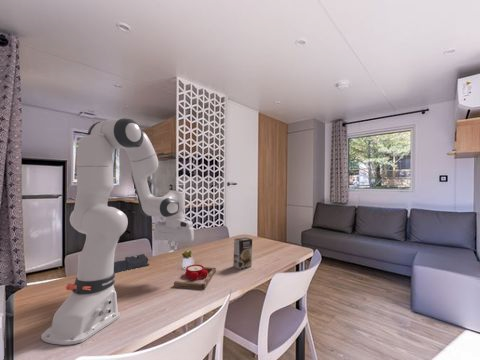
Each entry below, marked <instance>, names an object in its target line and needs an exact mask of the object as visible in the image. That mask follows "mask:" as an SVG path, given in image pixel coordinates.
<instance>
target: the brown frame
mask: <svg viewBox="0 0 480 360" xmlns="http://www.w3.org/2000/svg"><path fill="white" fill-rule="evenodd" d="M203 267H204V270H207V271H208V275H207V277H206V278H204V281H202V283H201V282H191V281H177V280H175V281H174V282H173V287H174V288H185V289H196V290H206V288H207V286H208V285H209V283H210V281H211V280H212V278H213V276H214V275H215V274H216V271H217V268H216V267H207V266H206V267H205V266H203Z"/></svg>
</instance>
